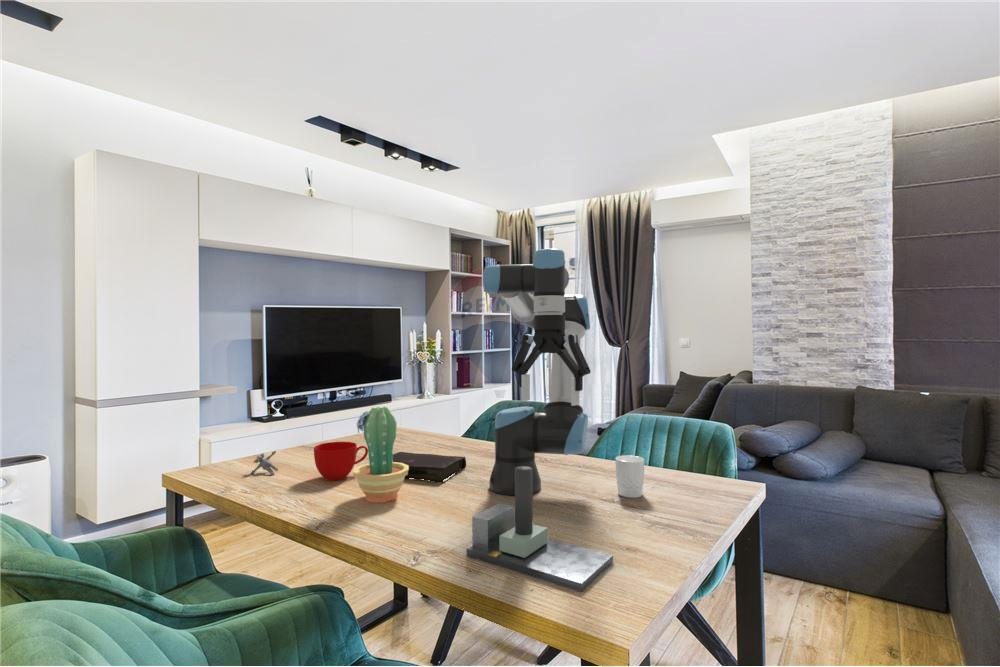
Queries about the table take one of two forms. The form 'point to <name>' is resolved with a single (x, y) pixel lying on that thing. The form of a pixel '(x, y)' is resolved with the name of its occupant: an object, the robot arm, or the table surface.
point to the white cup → (630, 475)
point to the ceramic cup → (336, 459)
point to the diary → (430, 465)
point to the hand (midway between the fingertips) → (549, 402)
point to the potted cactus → (379, 457)
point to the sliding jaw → (523, 520)
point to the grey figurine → (265, 463)
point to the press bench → (535, 553)
